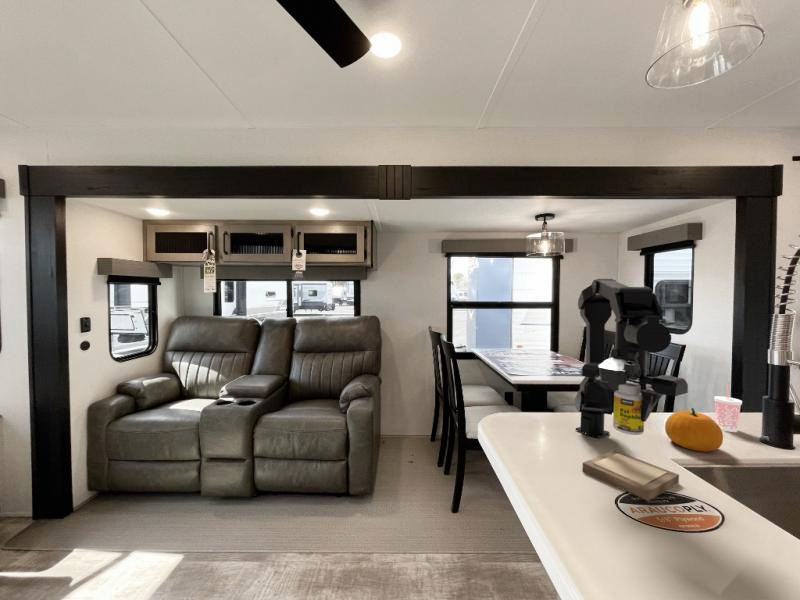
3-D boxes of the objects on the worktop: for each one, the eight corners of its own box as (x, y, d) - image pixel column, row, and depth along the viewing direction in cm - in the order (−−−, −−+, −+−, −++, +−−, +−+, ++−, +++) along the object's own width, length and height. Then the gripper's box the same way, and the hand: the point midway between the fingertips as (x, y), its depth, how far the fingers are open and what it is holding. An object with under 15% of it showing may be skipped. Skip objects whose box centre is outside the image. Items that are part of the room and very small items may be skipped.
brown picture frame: (614, 457, 84) (614, 449, 84) (678, 483, 73) (678, 473, 73) (582, 470, 77) (582, 461, 77) (648, 501, 66) (648, 490, 66)
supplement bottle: (615, 433, 74) (617, 385, 73) (611, 424, 79) (612, 379, 79) (647, 438, 71) (648, 388, 71) (640, 428, 77) (641, 382, 76)
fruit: (658, 443, 93) (659, 406, 92) (671, 433, 100) (673, 398, 100) (716, 461, 83) (718, 419, 83) (727, 448, 90) (728, 410, 90)
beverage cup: (711, 428, 104) (713, 381, 104) (714, 423, 108) (715, 378, 108) (740, 434, 99) (742, 386, 99) (741, 429, 104) (743, 382, 103)
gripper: (567, 341, 79) (565, 409, 79) (662, 355, 63) (659, 440, 63) (596, 338, 84) (594, 402, 85) (690, 350, 68) (687, 429, 69)
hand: (628, 416), depth 75 cm, fingers closed on supplement bottle, 5 cm apart
